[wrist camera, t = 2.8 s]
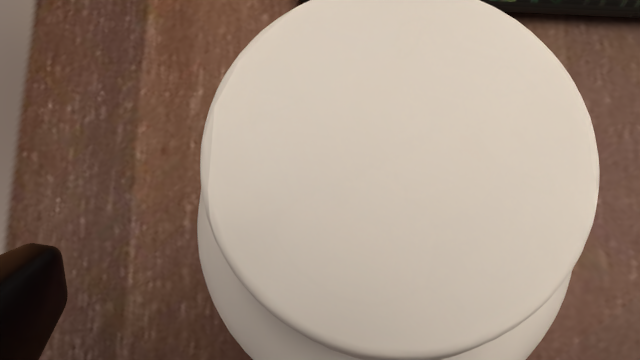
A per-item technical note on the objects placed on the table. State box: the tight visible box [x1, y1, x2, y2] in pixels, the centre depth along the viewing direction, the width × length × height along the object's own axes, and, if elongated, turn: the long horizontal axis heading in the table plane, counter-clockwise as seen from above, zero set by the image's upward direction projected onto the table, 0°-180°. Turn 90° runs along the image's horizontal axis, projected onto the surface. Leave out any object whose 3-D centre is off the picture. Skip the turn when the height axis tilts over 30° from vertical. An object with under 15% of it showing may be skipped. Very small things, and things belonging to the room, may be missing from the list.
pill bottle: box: [197, 0, 599, 360], centre depth 12 cm, size 6×6×11 cm
